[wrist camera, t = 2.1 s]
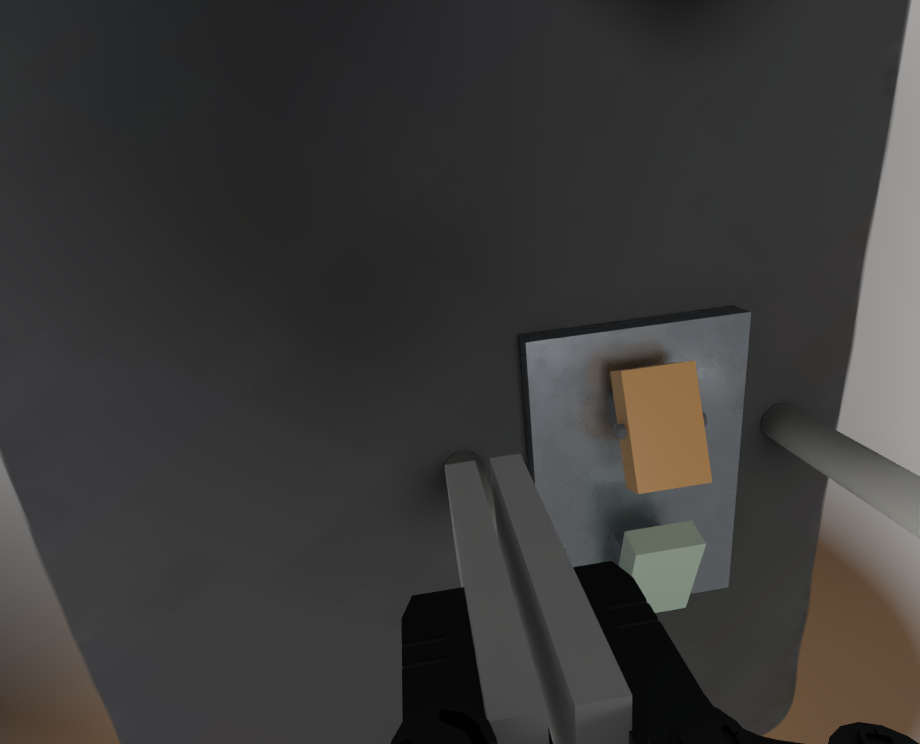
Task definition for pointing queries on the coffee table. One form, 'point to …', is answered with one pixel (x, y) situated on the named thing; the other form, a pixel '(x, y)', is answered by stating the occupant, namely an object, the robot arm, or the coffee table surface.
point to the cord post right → (848, 464)
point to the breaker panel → (599, 452)
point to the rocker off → (661, 427)
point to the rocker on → (663, 562)
